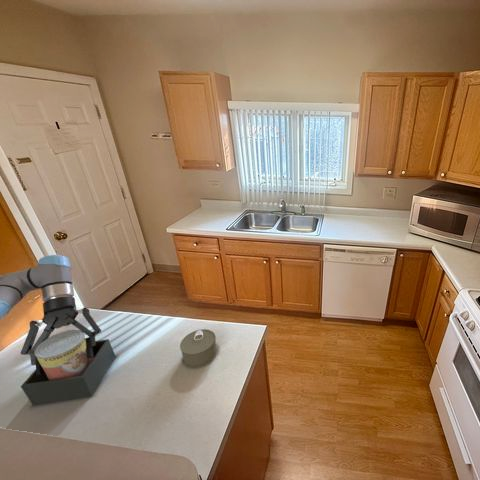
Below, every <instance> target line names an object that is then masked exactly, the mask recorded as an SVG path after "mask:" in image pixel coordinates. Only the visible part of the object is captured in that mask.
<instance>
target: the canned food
mask: <svg viewBox="0 0 480 480" xmlns="http://www.w3.org/2000/svg"><path fill="white" fill-rule="evenodd" d="M86 338H87V337H86V335H85V333H84V332H82V331H81V330H79V329H69V330H65V331H61V332H58V333H56V334H52V335H50V336H49V337H48V338H47V339H46V340H44V341H43V342H42V343H40V344H39V345H38V346H37V347H36V349H35V351H34V355H35V356H36V357H37V359H38V361H39V363H40V364H41V366H42V368H43V370H44V372H45V373H46V375H47V377H48V379H49V380H56V379H63V378H69V377H76V376H82V374H83V373H84V372H85V370H86V369H87V367H88V366H89V364H90V363H91V361H92V360H93V359H94V357H93V358H88V352H87V345H86Z"/></svg>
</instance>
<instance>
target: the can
mask: <svg viewBox="0 0 480 480" xmlns="http://www.w3.org/2000/svg"><path fill="white" fill-rule="evenodd" d="M216 337H217V336H216V333H215V332H214V331H212V330H210V329H204V328H203V329H202V328H201V329H198V330H194V331H192V332H189V333H187V335H186V336H184V338H183V339H181V341H180V344H179V349H180V351H181V354H182V358H183V362H184V364H185V365H186V366H188V367H190V368H200V367H203V366H206V365H208V364H209V363H210V362H212V361H213V360H214V359H215V358H216V356H217V354H218V348H217V342H216V339H217V338H216Z"/></svg>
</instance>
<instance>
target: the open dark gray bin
mask: <svg viewBox="0 0 480 480" xmlns="http://www.w3.org/2000/svg"><path fill="white" fill-rule="evenodd" d="M95 341H96V346H93V347H92V348H93V355H94V359H93V360H92V361H91V363H90V364H89V366H88V367H87V369H86V370H85V372H84V373H83V374H82V376H76V377H69V378H63V379H56V380H49V379H48V377H47V375H46V373H45V372H44V374H42V375H37V374H36V369H34V371H33V372H32V373H31V374H30V375H29V376H28V378H27V379H25V381H24V382H23V383H22V384H21V385H20V388H21V389H22V391H23V393H24V394H25V395H26V397H27V399H28V400H29V402H30V403H31V405H32V406H41V405H46V404H53V403H59V402H65V401H70V400H77V399H83V398H90V397H93V396H94V394H95V392H96V391H97V389H98V388H99V386H100V384H101V383H102V381H103V379H104V377H105V376H106V374H107V373H108V371H109V369H110V367H111V365H112V364H113V363H114V361H115V359H116V357H117V356H116V354H115V351H114V349H113V347H112V344H111V341H110V339H109V338H108V339H100V340H95Z"/></svg>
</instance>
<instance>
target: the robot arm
mask: <svg viewBox="0 0 480 480" xmlns="http://www.w3.org/2000/svg"><path fill="white" fill-rule="evenodd" d="M72 277H73V276H72V266H71V263H70V258H69V257H67V256H66V255H62V254H51V255H50V254H49V255H45V256H42V257H40V258H39V259H38V263H37V265H35V266H33V267H30V268H25V269H22V270H18V271H14V272H8V273H5V274H3V275H2V274H1V275H0V320H1V319H3V318H4V317H6V316H7V315H8V314H9V313H10V312H11V311H12V309H13V308H14V307H15V306H16V305H18V304H19V302H21V301H22V300H23V299H24V298H25V297H26V296H27V295H28V293H30V292H31V293H32V292H34V291H37V290H41V301H42V310H43V311H42V312H43V317H42V318H41V319H37V320H30V322H29V330H28V332H27V334H26V338H25V341H24V343H23V346H22V348H21V350H20V355H24V356H28V355H29V357H30V365H31V366H35V370H36V374H37V375H42V374H44V370H43V368H42V366H41V364H40V363H39V361H38V359H37V357H36V356H35V355H34V351H35V349H36V347H37V346H38V345H39V344H40V343H42V342H43V341H44V340H46V339H47V338H49V337H51V334H52V333H53V332H54V331H55V329H56V330H59V329H61V328H63V327H68V326H70V325H72V326H74V327H75V328H76V329H77V330H80V331H82V332H83V333H84V335H85V336H87V337H85V338H86V345H87V352H88V358H93V357H94V355H93V348H92V347H93V346H96V341H97V340H96V336H97V335H99V334H101V333H102V329H101V328H100V326H99V325H98V324H97V322H96V321H95V319H94V318H93V317H92V315H91V314H90V313H91V312H90V309H89V308H88V307H82V308H81V309H77V306H76V299H75V297H74V296H75V292H74V285H73V279H72ZM79 314H80V316H83V317H84V319H85V320H86V322H87V323H88V324H89V326H90V327H91V328H92V330H93V331H91V330H90V329H88V327H86V326H84V325H83V324H82V323H80V322H79V321H78V320H76V318H77V317H78V315H79ZM42 324H45V325H46V326H45V327H44V329H43V331H42V333H41V334H40V336H39V337H38V339H37V340H36V338H37V336H38V333H39V330H40V327H42ZM35 341H36V342H35Z"/></svg>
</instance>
